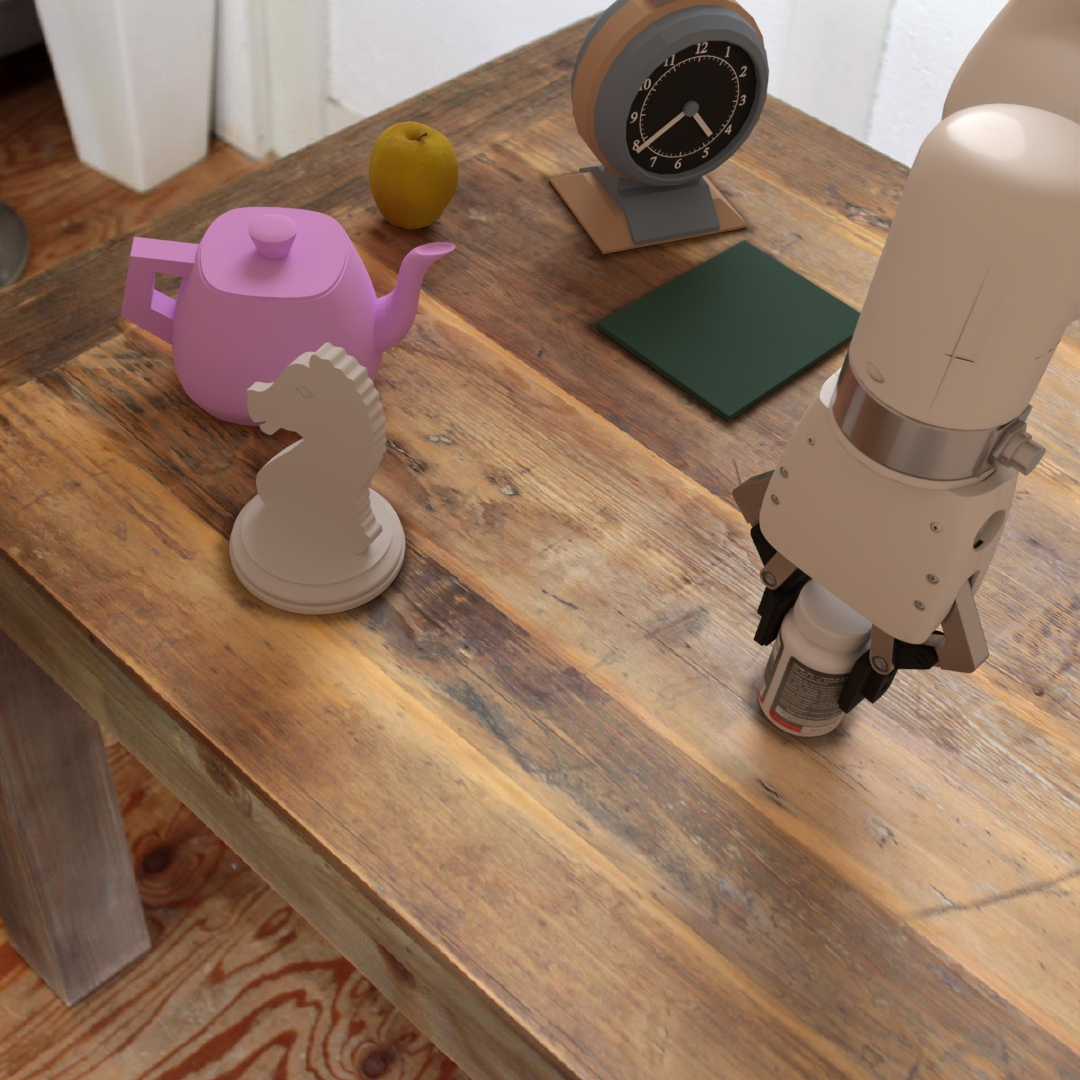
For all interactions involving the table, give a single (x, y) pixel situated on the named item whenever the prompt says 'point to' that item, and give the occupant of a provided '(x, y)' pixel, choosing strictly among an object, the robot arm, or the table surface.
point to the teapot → (267, 301)
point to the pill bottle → (812, 662)
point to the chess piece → (319, 492)
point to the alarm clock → (662, 118)
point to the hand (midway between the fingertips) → (817, 660)
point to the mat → (733, 328)
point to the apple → (412, 174)
